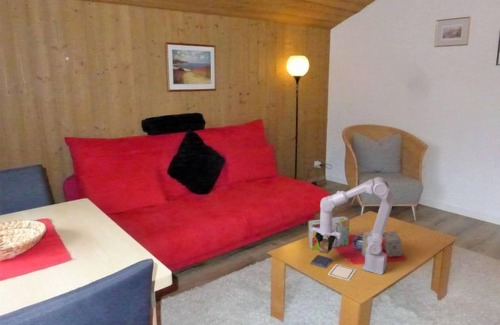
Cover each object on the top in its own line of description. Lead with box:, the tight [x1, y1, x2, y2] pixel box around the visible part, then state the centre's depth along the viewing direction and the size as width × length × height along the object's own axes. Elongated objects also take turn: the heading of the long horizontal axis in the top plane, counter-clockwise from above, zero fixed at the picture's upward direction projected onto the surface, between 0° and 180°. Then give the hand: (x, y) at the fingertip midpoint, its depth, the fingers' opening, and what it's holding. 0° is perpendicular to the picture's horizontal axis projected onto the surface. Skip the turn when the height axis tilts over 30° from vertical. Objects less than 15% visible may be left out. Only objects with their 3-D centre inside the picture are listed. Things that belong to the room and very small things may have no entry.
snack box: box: [308, 216, 350, 251], centre depth 198 cm, size 21×6×15 cm, turn 104°
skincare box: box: [361, 230, 372, 257], centre depth 187 cm, size 6×4×12 cm
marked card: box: [327, 263, 357, 282], centre depth 173 cm, size 10×11×1 cm
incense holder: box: [382, 230, 403, 258], centre depth 189 cm, size 10×8×10 cm
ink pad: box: [309, 254, 333, 269], centre depth 183 cm, size 8×9×1 cm
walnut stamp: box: [319, 239, 332, 255], centre depth 179 cm, size 4×5×5 cm
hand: (325, 248), depth 179 cm, fingers closed on walnut stamp, 4 cm apart
